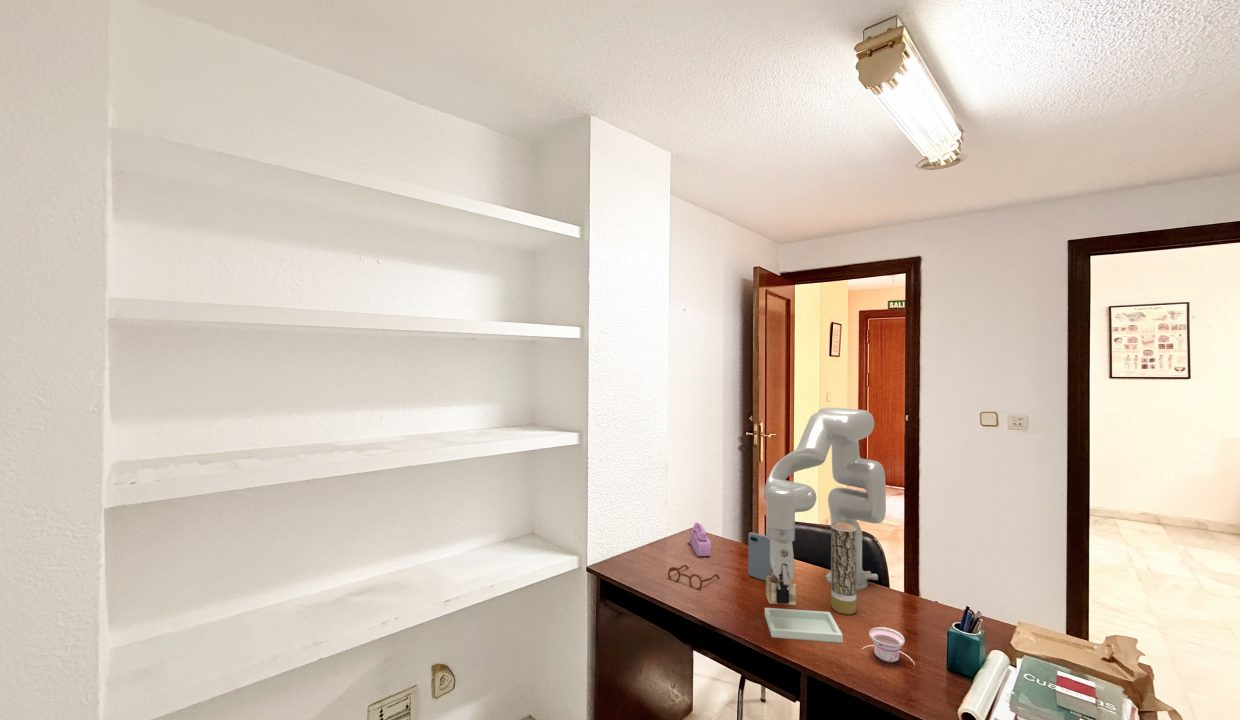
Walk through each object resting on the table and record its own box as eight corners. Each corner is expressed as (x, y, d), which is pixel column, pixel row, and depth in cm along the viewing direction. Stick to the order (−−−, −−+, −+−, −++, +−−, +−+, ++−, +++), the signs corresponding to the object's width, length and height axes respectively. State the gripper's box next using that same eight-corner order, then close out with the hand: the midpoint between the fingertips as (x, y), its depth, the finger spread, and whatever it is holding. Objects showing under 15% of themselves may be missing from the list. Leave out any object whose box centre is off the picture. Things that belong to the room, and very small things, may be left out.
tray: (829, 620, 141) (829, 611, 141) (842, 644, 129) (842, 635, 129) (764, 616, 143) (764, 607, 143) (771, 639, 131) (771, 630, 131)
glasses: (667, 581, 167) (667, 566, 167) (688, 568, 177) (688, 555, 177) (700, 593, 159) (700, 577, 159) (720, 579, 168) (720, 564, 168)
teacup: (872, 641, 131) (872, 618, 131) (923, 662, 122) (923, 637, 122) (851, 659, 123) (851, 634, 123) (904, 683, 114) (904, 656, 114)
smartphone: (771, 582, 165) (771, 537, 165) (770, 583, 165) (770, 538, 165) (749, 574, 171) (749, 531, 171) (747, 575, 170) (747, 532, 170)
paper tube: (845, 617, 142) (845, 531, 142) (826, 607, 149) (826, 524, 149) (861, 612, 146) (861, 527, 146) (841, 602, 152) (841, 521, 152)
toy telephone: (712, 557, 186) (712, 531, 186) (696, 558, 186) (696, 531, 186) (701, 540, 204) (701, 516, 204) (686, 541, 204) (686, 516, 204)
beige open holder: (791, 596, 139) (791, 576, 139) (795, 604, 134) (795, 584, 134) (766, 594, 140) (766, 575, 140) (769, 603, 135) (769, 583, 135)
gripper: (802, 544, 128) (802, 614, 128) (787, 522, 145) (787, 584, 145) (772, 543, 129) (772, 612, 129) (761, 522, 146) (761, 583, 146)
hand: (780, 597), depth 137 cm, fingers closed on beige open holder, 5 cm apart
